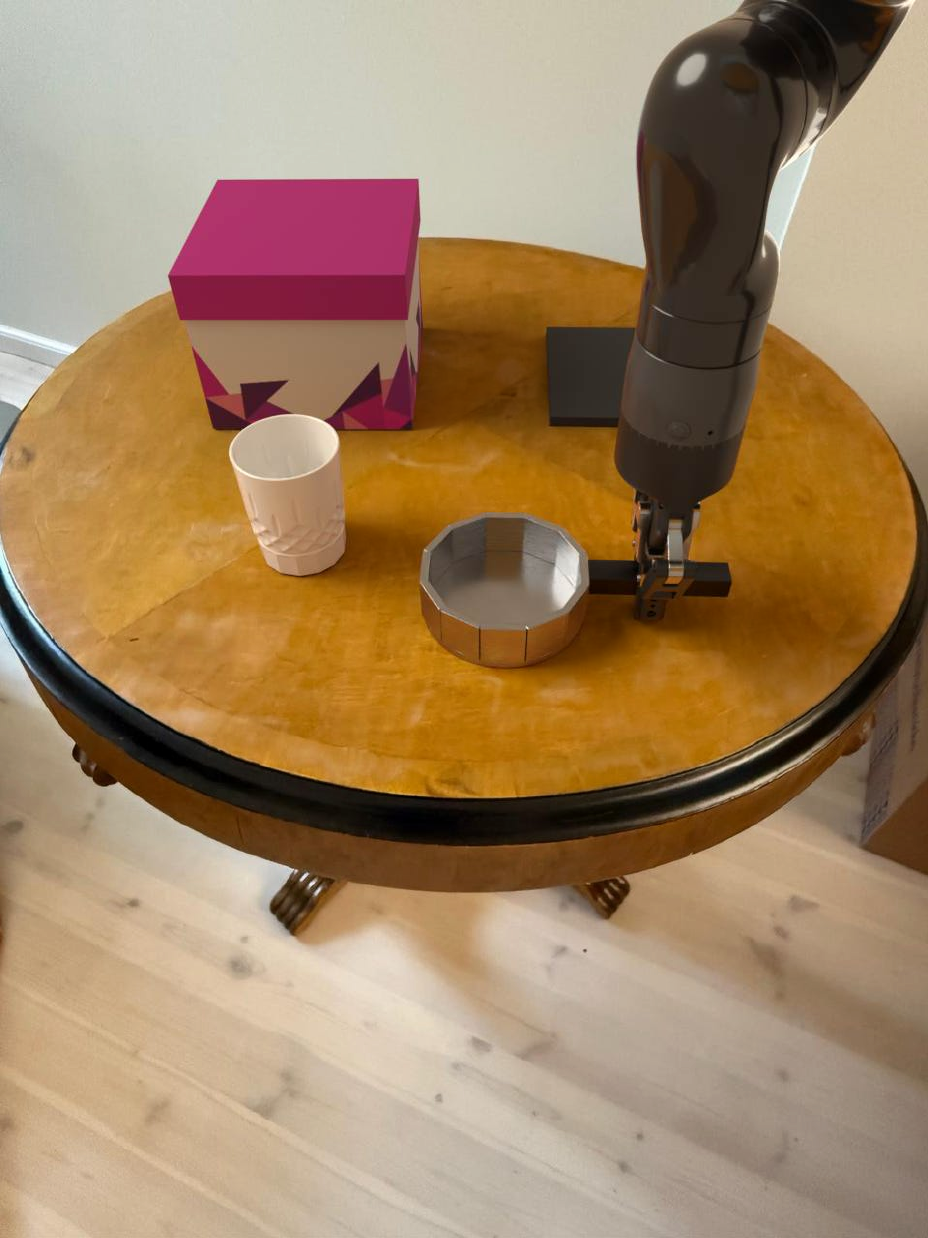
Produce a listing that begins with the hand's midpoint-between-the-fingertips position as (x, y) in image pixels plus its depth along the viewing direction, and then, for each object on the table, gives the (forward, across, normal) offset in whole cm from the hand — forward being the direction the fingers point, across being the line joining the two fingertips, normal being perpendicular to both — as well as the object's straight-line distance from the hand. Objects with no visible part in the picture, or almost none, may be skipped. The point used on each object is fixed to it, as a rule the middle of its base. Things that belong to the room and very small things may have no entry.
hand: (645, 603), depth 66 cm
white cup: (+1, +6, +26) cm, 27 cm away
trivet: (+1, +31, -2) cm, 31 cm away
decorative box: (+1, +31, +28) cm, 42 cm away
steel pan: (+1, 0, +6) cm, 6 cm away
